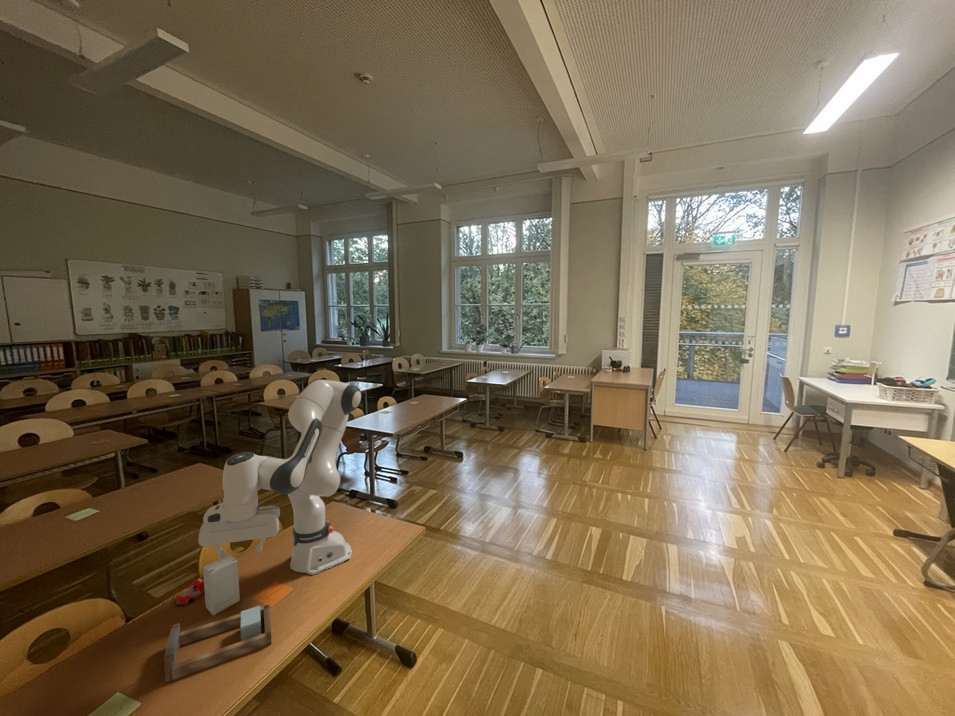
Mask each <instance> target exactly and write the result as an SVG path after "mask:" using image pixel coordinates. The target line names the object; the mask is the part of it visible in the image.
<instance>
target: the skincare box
mask: <svg viewBox="0 0 955 716" xmlns="http://www.w3.org/2000/svg"><path fill="white" fill-rule="evenodd" d="M238 563H239V561H238V559H236V558H235V557H234V556H233V555H231V554H226V555H225V557H223V558H218V559H216V560H214V561H213V562H210V563H208V564H205V565H204V566H202V572H203V576H204V589H205V593H204V601H205V608H206V610H207V611H208V612H209V613H210V614H211V615H212V616H215V615H217V614H218V613H220V612H222V611H224V610H226V609H228V608H229V607H231V606H233V605H234V604H237V603H238V602H240V600H241V597H240V583H239V582H240V581H239V579H240V578H239V565H238Z"/></svg>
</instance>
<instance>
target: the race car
mask: <svg viewBox="0 0 955 716" xmlns="http://www.w3.org/2000/svg"><path fill="white" fill-rule="evenodd" d="M193 585H194V586H193ZM191 586H193V587H191ZM189 587H191V588H189ZM188 588H189V589H188ZM186 589H188V590H187V591H185V592H183V591H182V592H183V593H181V592H180V593H181V594H180V593H179V594H180V595H179V594H178V595H179V596H178V595H177V596H176V598H175V603H176V605H177V606H185V605H188V604H189V605H190V604H191V603H193V602H194V600H196V599H198V598H199V597H201V596H202V595H204V594H205V589H204V576H200V577H199V578H198V579H196V580H194V581H193V582H191V583H190V584H189V585H186V588H185V589H184V590H186Z"/></svg>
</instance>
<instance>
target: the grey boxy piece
mask: <svg viewBox="0 0 955 716" xmlns="http://www.w3.org/2000/svg"><path fill="white" fill-rule="evenodd" d="M260 607H261V605H257V606H254V607H251V608H248V609H245V610H241V611H240V613H241V626H240V641H243V640H246V639H249V638H252V637H255V636H258V635H261V634H262V623H261V622H262V621H261V620H262V619H261V616H260Z"/></svg>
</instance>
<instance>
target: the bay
mask: <svg viewBox="0 0 955 716" xmlns="http://www.w3.org/2000/svg"><path fill="white" fill-rule="evenodd" d="M270 612H271V611H270V604H266V605H263V606H260V616H261V620H262V619H263V623H264V633H261V635H258V636H255V637H252V638H249V639H246V640H243V641H241V640H240V641H238V642H236V643H232V644H229V645H226V646H224V647H220V648H218V649H215V650H213V651H212V650H211V651H210V652H206V653H203V654H200V655H198V656H195V657H192V658H189V659H187V660H184V661H180V662H177V661H178V657H179V651H180V649H181V646H184V645H187V644H189V643H193V642H196V641H199V640H202V639H206V638H208V637H211V636H214V635H217V634H221V633H223V632H226V631H229V630H233V629H235V628H240V627H241V612H240V613H238V614H234V615H231V616H229V617H225V618H222V619H219V620H215V621H212V622H210V623H206V624H203V625H200V626H197V627H194V628H189V629H187V630H184V631H181V624H180V622H178V623H175V624H173V625H172V628H171V629H170V632H169V636H168V641H167V643H166V648H165V651H164V656H163V662H164V664H163V665H164V683H165V684H166V683H168V682H171V681H174V680H177V679H179V678H183V677H186V676H188V675H190V674H193V673H196V672H199V671H202V670H204V669H207V668H210V667H212V666H213V667H214V665H215V666H216V665H218V664H220V663H224V662H227V661H229V660H232V659H235V658H237V657H240V656H243V655H246V654H248V653H250V652H251V653H252V652H254V651H257V650H260V649H262V648H265V647H268V646H270V645H272V628H271V613H270Z"/></svg>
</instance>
